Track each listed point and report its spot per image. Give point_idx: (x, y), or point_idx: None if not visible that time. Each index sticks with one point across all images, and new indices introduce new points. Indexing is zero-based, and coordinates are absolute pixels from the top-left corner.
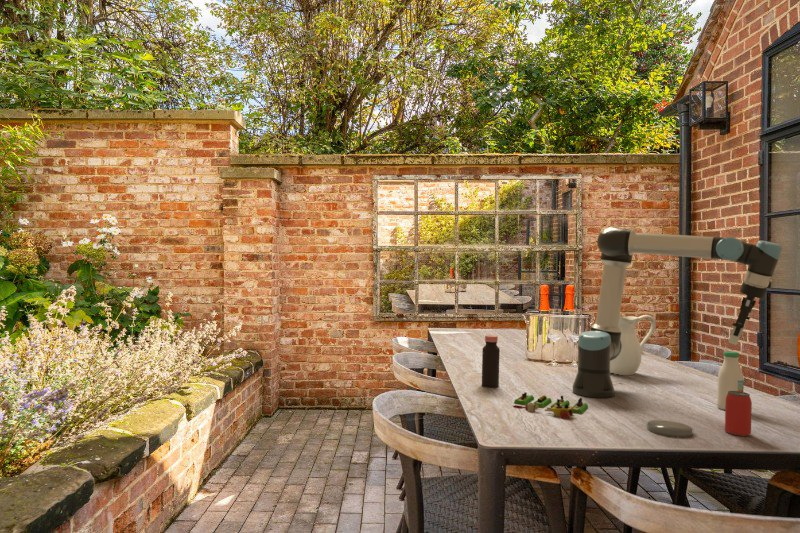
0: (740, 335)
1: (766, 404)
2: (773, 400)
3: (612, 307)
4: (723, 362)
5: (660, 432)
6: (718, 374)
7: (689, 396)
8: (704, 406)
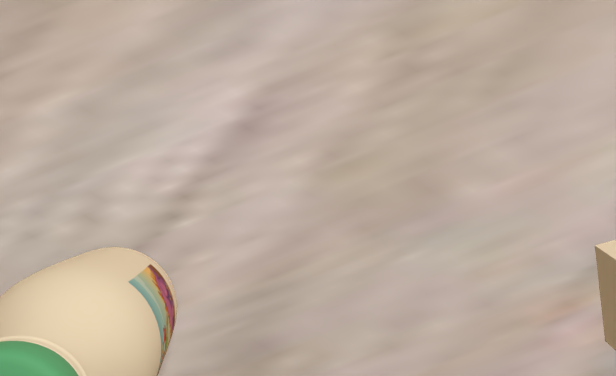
0: (612, 340)
1: (416, 369)
2: (548, 349)
3: None
4: (4, 332)
5: None
6: (22, 280)
7: (232, 42)
8: (47, 200)
